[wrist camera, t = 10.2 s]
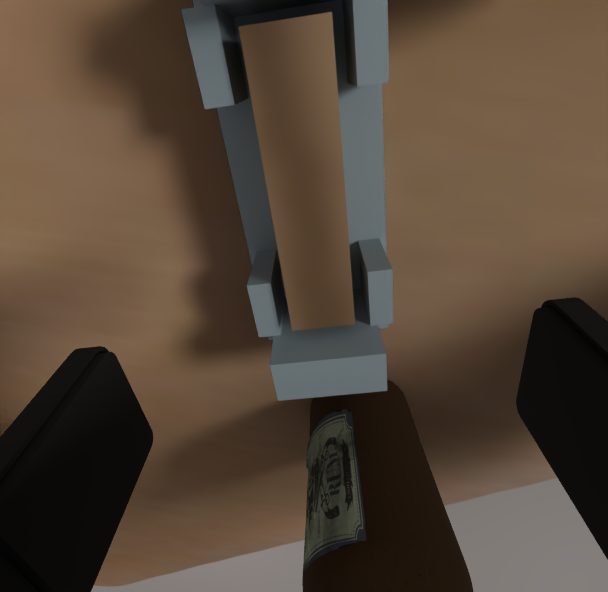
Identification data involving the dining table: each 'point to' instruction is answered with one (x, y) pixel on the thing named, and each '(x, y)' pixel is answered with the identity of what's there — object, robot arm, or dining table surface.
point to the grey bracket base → (357, 175)
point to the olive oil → (375, 502)
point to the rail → (303, 163)
